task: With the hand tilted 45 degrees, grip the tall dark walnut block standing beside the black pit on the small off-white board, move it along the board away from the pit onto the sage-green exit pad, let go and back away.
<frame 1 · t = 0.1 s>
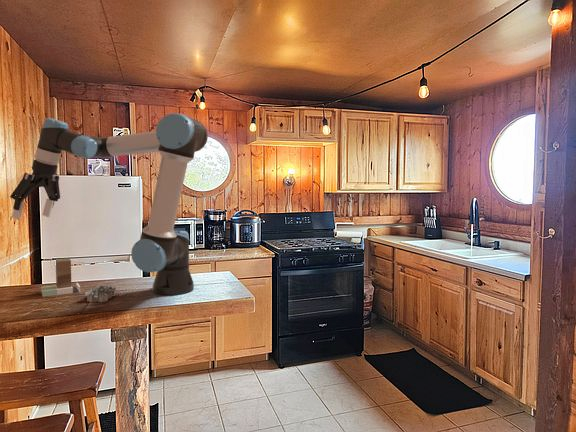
hand: (31, 217, 144), 28 cm above the table, tool tilted 20°, fingers open, 13 cm apart
walnut block: (63, 286, 147), point 2 cm above the table, touching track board
egg carton: (101, 299, 140), on the table
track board: (60, 292, 146), on the table
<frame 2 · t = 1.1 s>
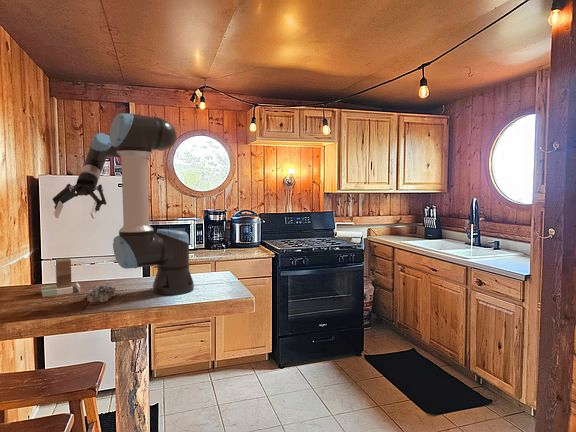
hand: (74, 216, 155), 27 cm above the table, tool tilted 45°, fingers open, 13 cm apart
nothing on the table moved.
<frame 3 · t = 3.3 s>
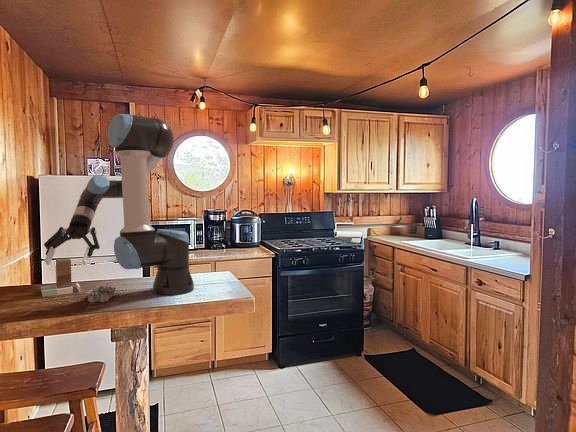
hand: (65, 262, 150), 10 cm above the table, tool tilted 45°, fingers open, 13 cm apart
nothing on the table moved.
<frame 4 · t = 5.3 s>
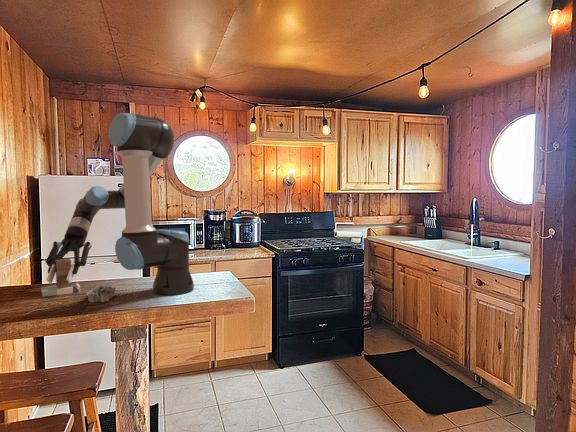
hand: (58, 281, 143), 5 cm above the table, tool tilted 45°, fingers closed on walnut block, 6 cm apart
walnut block: (63, 286, 147), point 2 cm above the table, touching gripper, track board
everything else where it was.
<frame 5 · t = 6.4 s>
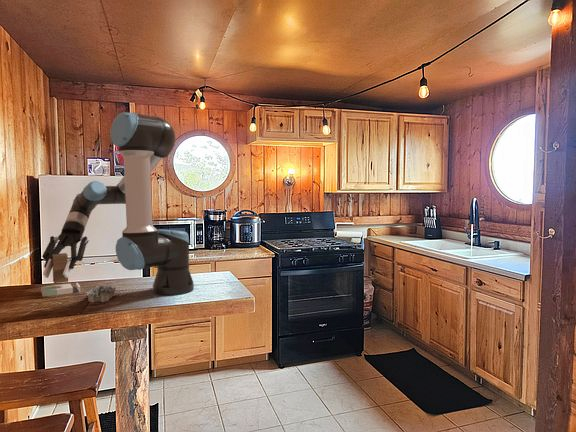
hand: (55, 275, 142), 7 cm above the table, tool tilted 45°, fingers closed on walnut block, 6 cm apart
walnut block: (60, 281, 146), point 4 cm above the table, touching gripper
everything else where it was.
when the fingers open (6 cm above the table, at t = 7.8 s): walnut block stays where it is, resting on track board.
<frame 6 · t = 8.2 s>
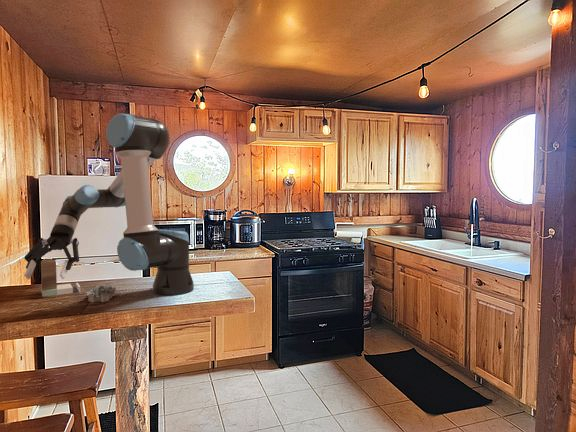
hand: (44, 277, 141), 7 cm above the table, tool tilted 45°, fingers open, 11 cm apart
walnut block: (49, 288, 144), point 2 cm above the table, touching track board
everything else where it was.
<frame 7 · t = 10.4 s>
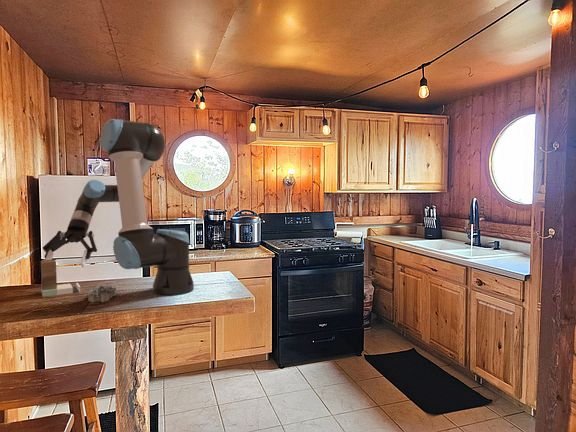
hand: (64, 265, 154), 8 cm above the table, tool tilted 45°, fingers open, 13 cm apart
nothing on the table moved.
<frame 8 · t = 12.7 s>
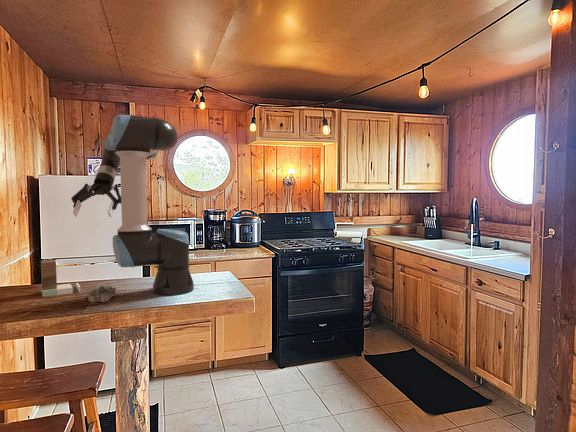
hand: (92, 214, 161), 28 cm above the table, tool tilted 45°, fingers open, 13 cm apart
nothing on the table moved.
at the end: walnut block 0.5 cm from the target spot, point 2.0 cm above the table; walnut block tilted 0°; the gripper is holding nothing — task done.
